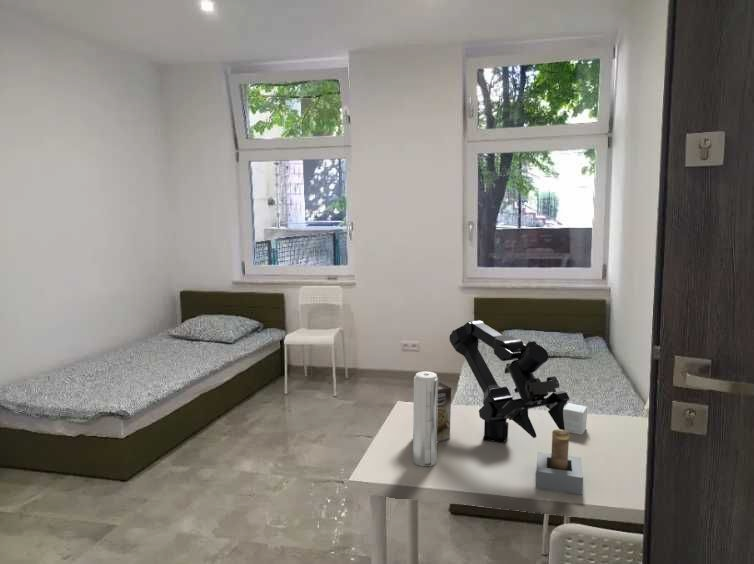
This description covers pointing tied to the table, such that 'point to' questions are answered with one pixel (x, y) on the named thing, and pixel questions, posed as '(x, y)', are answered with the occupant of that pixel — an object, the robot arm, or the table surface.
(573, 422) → the product box
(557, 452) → the peg
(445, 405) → the coffee box
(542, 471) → the socket block
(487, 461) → the table surface
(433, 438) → the air filter
